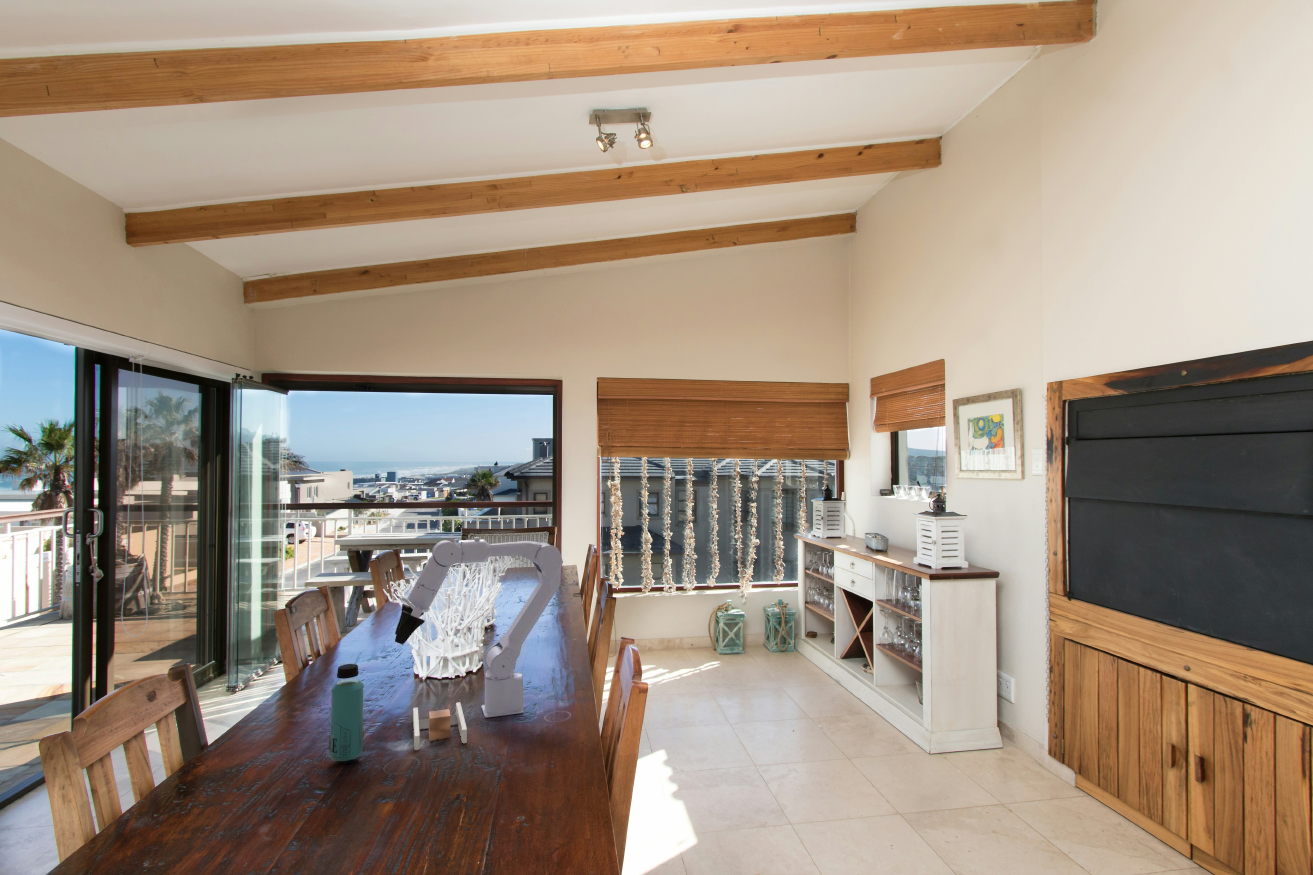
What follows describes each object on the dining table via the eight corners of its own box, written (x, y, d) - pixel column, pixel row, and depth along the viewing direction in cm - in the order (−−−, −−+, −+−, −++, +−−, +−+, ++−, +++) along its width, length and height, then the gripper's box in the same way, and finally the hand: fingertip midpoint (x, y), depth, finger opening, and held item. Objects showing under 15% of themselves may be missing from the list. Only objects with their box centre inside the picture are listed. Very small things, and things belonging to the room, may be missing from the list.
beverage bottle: (370, 757, 138) (372, 662, 139) (345, 771, 132) (348, 671, 133) (345, 753, 141) (348, 659, 141) (320, 766, 134) (323, 667, 135)
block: (448, 730, 153) (449, 708, 153) (450, 737, 149) (450, 715, 149) (428, 733, 152) (429, 711, 152) (429, 740, 147) (429, 718, 148)
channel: (459, 714, 163) (460, 702, 163) (466, 742, 146) (466, 729, 146) (413, 720, 159) (413, 707, 159) (414, 750, 142) (414, 736, 142)
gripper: (411, 575, 165) (383, 626, 162) (412, 584, 152) (382, 639, 149) (437, 587, 168) (410, 636, 165) (440, 596, 154) (411, 651, 151)
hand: (398, 639), depth 157 cm, fingers open, 7 cm apart
